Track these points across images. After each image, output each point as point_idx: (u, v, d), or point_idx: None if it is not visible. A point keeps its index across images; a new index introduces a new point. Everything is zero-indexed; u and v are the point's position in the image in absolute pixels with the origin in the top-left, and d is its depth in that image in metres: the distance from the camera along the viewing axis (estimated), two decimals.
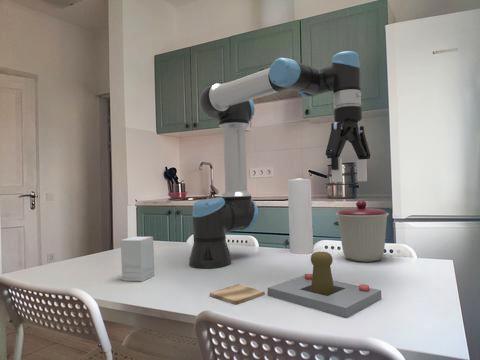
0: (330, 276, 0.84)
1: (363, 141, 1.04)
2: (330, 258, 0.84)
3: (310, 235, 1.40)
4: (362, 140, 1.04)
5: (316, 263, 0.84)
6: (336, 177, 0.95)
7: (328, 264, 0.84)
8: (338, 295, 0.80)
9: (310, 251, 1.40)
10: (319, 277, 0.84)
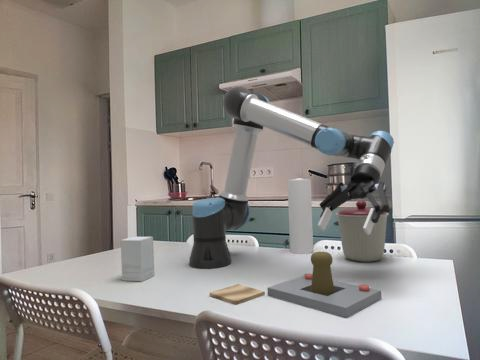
0: (330, 276, 0.84)
1: None
2: (330, 258, 0.84)
3: (310, 235, 1.40)
4: None
5: (316, 263, 0.84)
6: None
7: (328, 264, 0.84)
8: (338, 295, 0.80)
9: (310, 251, 1.40)
10: (319, 277, 0.84)
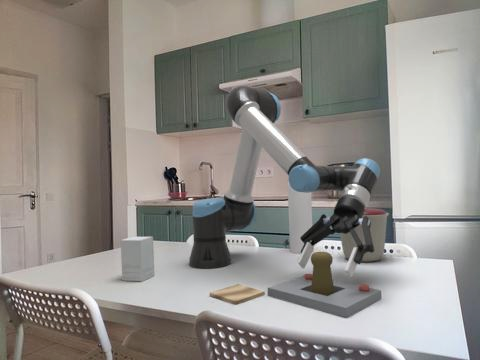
0: (330, 276, 0.84)
1: (363, 231, 0.86)
2: (330, 258, 0.84)
3: None
4: None
5: (316, 263, 0.84)
6: None
7: (328, 264, 0.84)
8: (338, 295, 0.80)
9: None
10: (319, 277, 0.84)
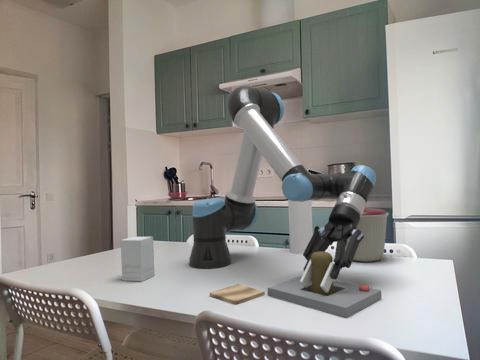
0: None
1: None
2: (330, 258, 0.84)
3: (310, 235, 1.40)
4: None
5: (316, 263, 0.84)
6: None
7: (328, 264, 0.84)
8: (338, 295, 0.80)
9: None
10: (319, 277, 0.84)
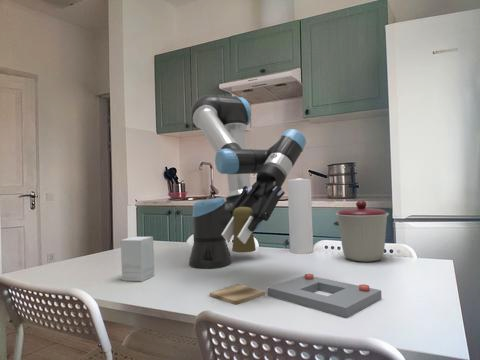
0: None
1: None
2: (250, 212, 0.88)
3: (310, 235, 1.40)
4: None
5: (236, 217, 0.87)
6: None
7: (247, 217, 0.87)
8: (338, 295, 0.80)
9: (310, 251, 1.40)
10: (238, 230, 0.87)
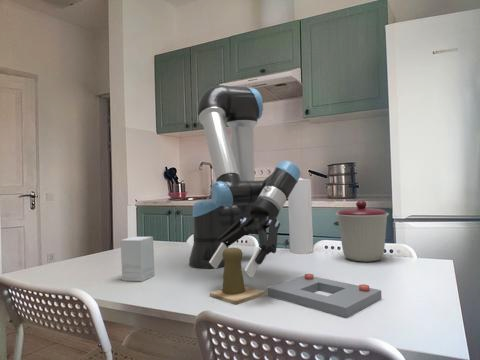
0: (239, 271, 0.89)
1: None
2: (239, 254, 0.89)
3: (310, 235, 1.40)
4: None
5: (225, 258, 0.89)
6: None
7: (236, 259, 0.88)
8: (338, 295, 0.80)
9: (310, 251, 1.40)
10: (227, 272, 0.89)
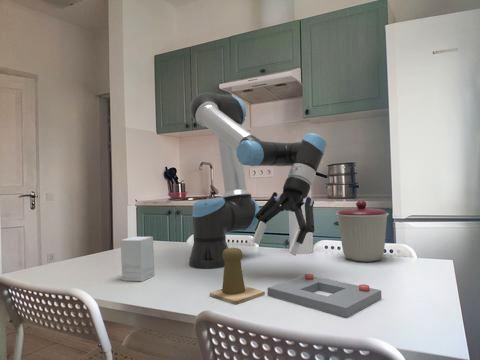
0: (239, 271, 0.89)
1: None
2: (239, 254, 0.89)
3: (310, 235, 1.40)
4: None
5: (225, 259, 0.89)
6: None
7: (236, 259, 0.88)
8: (338, 295, 0.80)
9: (310, 251, 1.40)
10: (227, 272, 0.89)
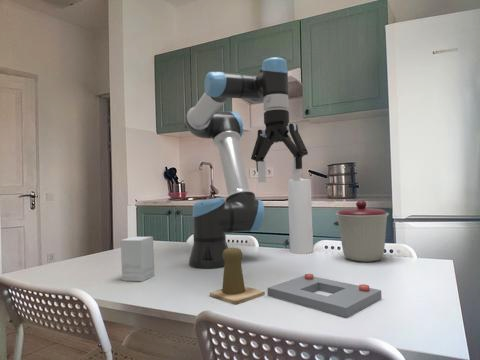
0: (239, 271, 0.89)
1: None
2: (239, 254, 0.89)
3: (310, 235, 1.40)
4: None
5: (225, 259, 0.89)
6: None
7: (236, 259, 0.88)
8: (338, 295, 0.80)
9: (310, 251, 1.40)
10: (227, 272, 0.89)
